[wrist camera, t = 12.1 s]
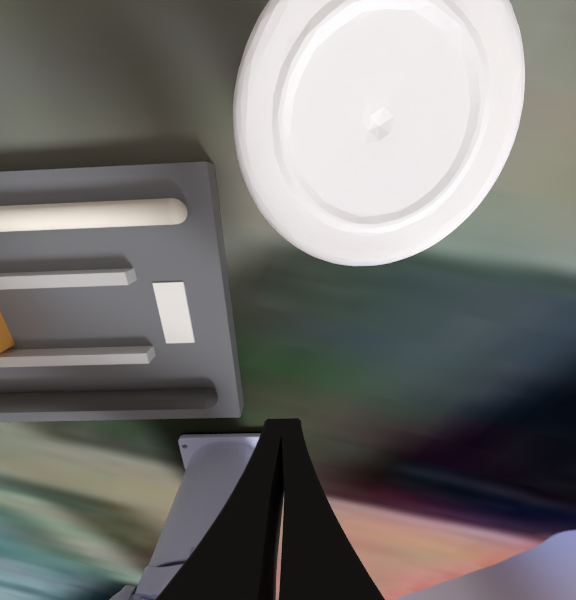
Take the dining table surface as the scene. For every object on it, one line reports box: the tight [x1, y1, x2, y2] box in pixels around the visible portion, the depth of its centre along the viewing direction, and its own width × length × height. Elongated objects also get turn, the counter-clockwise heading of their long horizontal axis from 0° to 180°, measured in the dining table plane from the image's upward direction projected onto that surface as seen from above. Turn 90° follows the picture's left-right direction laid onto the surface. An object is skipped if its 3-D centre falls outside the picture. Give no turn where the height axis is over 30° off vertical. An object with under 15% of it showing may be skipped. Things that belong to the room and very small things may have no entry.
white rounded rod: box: [0, 198, 188, 232], centre depth 16 cm, size 1×21×1 cm, turn 92°
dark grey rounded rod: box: [0, 388, 218, 413], centre depth 20 cm, size 1×21×1 cm, turn 92°
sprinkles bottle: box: [233, 0, 525, 266], centre depth 10 cm, size 5×5×14 cm
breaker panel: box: [0, 161, 244, 422], centre depth 19 cm, size 18×24×2 cm
